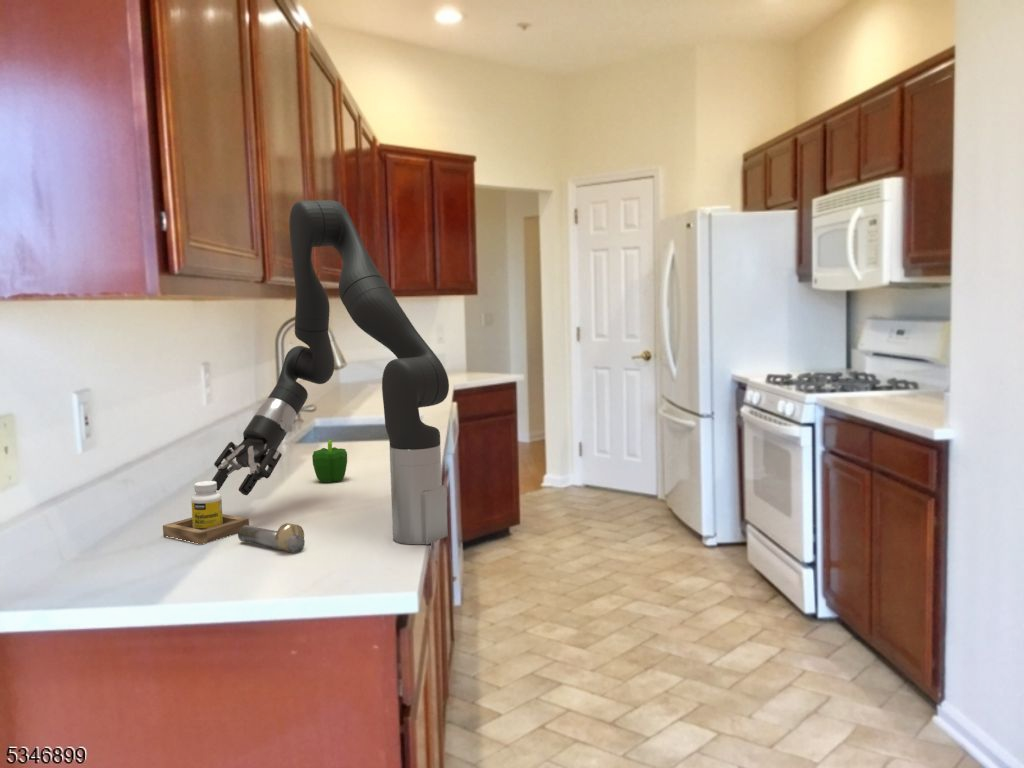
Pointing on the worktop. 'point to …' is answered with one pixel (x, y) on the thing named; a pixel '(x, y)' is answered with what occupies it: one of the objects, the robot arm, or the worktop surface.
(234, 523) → the collar block
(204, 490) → the supplement bottle
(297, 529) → the shaft
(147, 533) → the worktop surface
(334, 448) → the bell pepper
